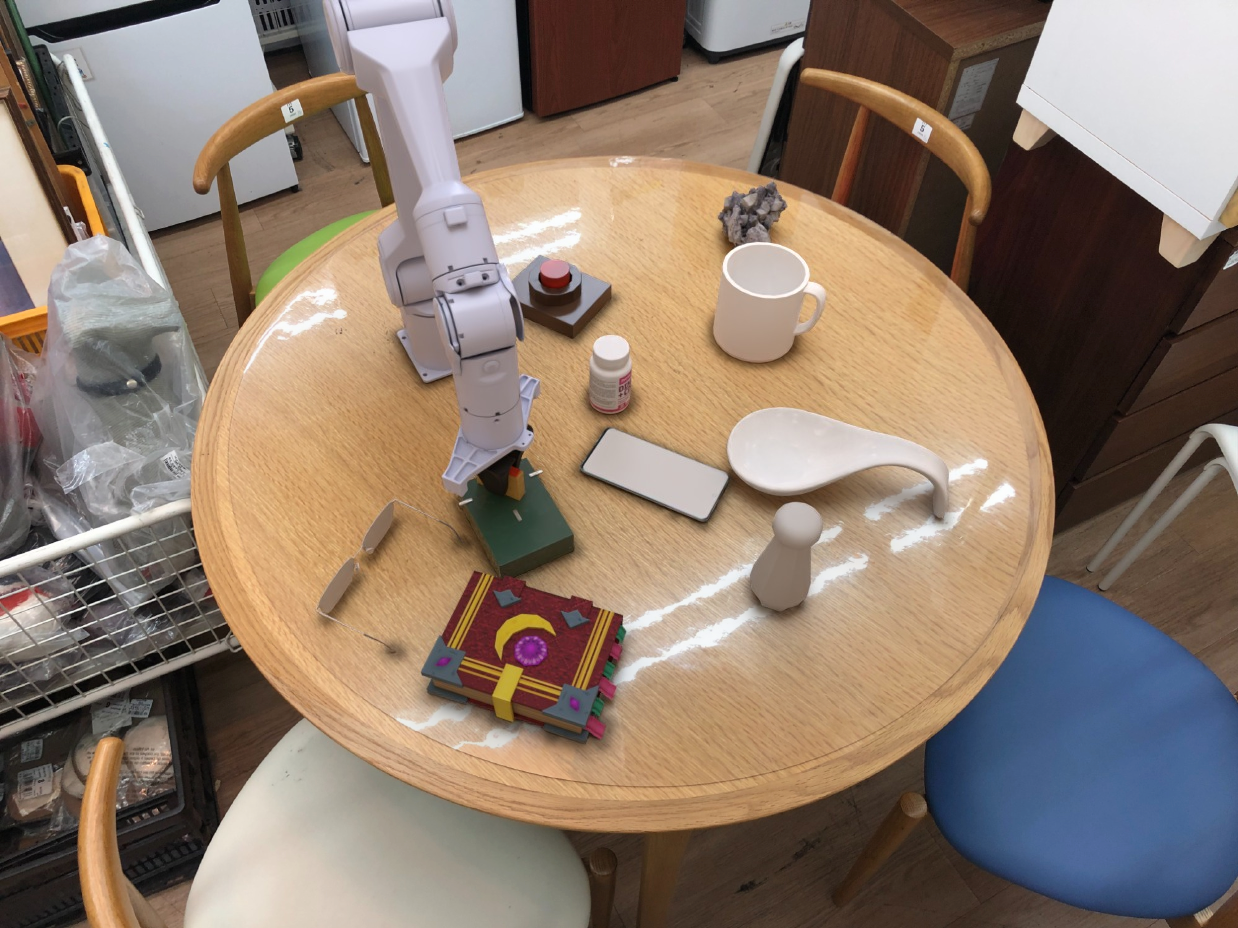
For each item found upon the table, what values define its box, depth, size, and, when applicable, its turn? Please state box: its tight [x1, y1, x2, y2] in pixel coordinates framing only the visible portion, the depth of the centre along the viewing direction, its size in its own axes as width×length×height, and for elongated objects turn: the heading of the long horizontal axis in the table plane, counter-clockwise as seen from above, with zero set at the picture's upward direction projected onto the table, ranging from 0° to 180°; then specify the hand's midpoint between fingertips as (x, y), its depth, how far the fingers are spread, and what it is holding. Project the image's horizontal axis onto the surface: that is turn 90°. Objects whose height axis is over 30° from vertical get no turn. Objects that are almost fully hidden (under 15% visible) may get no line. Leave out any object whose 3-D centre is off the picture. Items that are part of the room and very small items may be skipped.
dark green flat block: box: [457, 457, 575, 579], centre depth 91 cm, size 13×9×3 cm
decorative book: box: [420, 569, 627, 745], centre depth 80 cm, size 11×16×5 cm
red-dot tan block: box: [475, 466, 525, 500], centre depth 89 cm, size 5×1×4 cm, turn 64°
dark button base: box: [511, 254, 612, 339], centre depth 111 cm, size 11×9×4 cm
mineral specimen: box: [717, 180, 788, 248], centre depth 119 cm, size 12×9×10 cm
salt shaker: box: [749, 501, 824, 613], centre depth 82 cm, size 6×6×13 cm
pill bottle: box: [588, 334, 633, 415], centre depth 99 cm, size 5×5×8 cm
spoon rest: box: [726, 406, 950, 519], centre depth 93 cm, size 24×12×7 cm, turn 77°
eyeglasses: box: [314, 498, 465, 653], centre depth 86 cm, size 14×8×4 cm, turn 157°
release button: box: [540, 258, 570, 289], centre depth 109 cm, size 4×4×2 cm
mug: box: [712, 242, 827, 364], centre depth 106 cm, size 13×10×10 cm
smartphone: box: [580, 426, 731, 522], centre depth 96 cm, size 7×1×15 cm
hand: (500, 485), depth 90 cm, fingers closed on red-dot tan block
